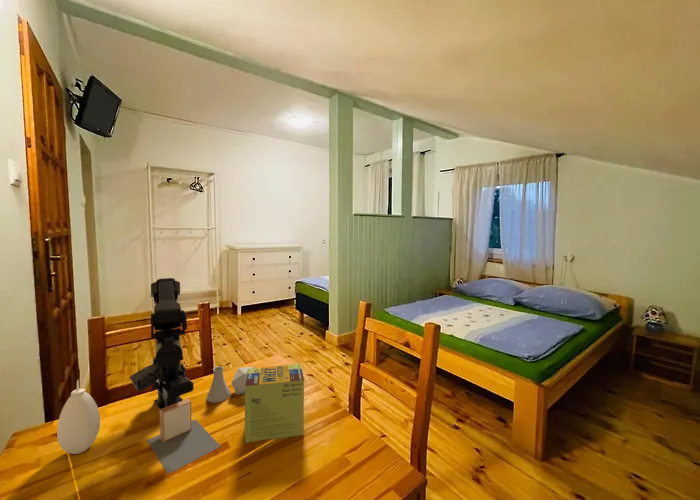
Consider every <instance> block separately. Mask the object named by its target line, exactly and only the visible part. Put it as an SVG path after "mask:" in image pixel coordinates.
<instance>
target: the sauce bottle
mask: <svg viewBox="0 0 700 500" xmlns="http://www.w3.org/2000/svg"><path fill="white" fill-rule="evenodd" d="M56 427H57V428H56V433H57V434H56V437H57V441H58V445H59V447H60V448H61V449H62V450H63V451H64V452H66V454H67V453H68V454H72V455H77V454H81V453H83V452H86V450H88V449H89V448H90V447H91V446H92V445H93V444H94V443H95V441H96V439H97V437H98V435H99V432H100V429H101V428H100V427H101V415H100V410H99V407H98V404H97V403H96V401H95V399H94V398H93V397H92V395H90V394H89V393H88V392H86V389H85V388H80V383H79V379H77V380H76V389H74V390H72V391H71V393H70V396H69V398H67V400H66V402H65V404H64V405H63V407H62V409H61V412H60V414H59V418H58V421H57V426H56Z"/></svg>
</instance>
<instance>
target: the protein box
mask: <svg viewBox="0 0 700 500" xmlns="http://www.w3.org/2000/svg"><path fill="white" fill-rule="evenodd" d="M304 406H305V378H304V373H303V368H302V364H301V363H295V364H285V365H275V366H274V365H273V366H272V365H271V366H263V367H256V368H252V369H248V373H247V379H246V383H245V394H244V443H252V442H257V441H258V442H259V441H264V440H265V441H266V440H270V441H272V440H279V439H286V438H293V437H298V436H304V432H305V429H304V428H305V426H304V421H305V419H304V418H305V417H304V416H305V415H304V413H305V407H304Z"/></svg>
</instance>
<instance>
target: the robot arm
mask: <svg viewBox="0 0 700 500" xmlns="http://www.w3.org/2000/svg"><path fill="white" fill-rule="evenodd" d="M180 295H181V282H180V281H179V280H178V281H177V280H176V278H174V277H167V278H166V277H165V278H158V279H156V281H154V282H151V283H150V298H153V304H154V306H153V312H152V313H150V339H151V340H155V356H154V357H153V359H152V363H151V364H149V365H148V366H146V367H143V368H142V369H140V370H138V371H136V372H134V373H133V374H132V375H131V376H130V377H129V379H130V381H131V383H132V384H133V386H134V388H135V389H136V391H137V392H139V393H140V392H143V391H145V390H147V388H149V387H151V386H152V388H151V389H152V390H155V389H157V399H154V400H153V403H154V404H155V405H156V406H157V407H158V409H159V410H160V409H162V408H165V407H167V406H170V405H173V404H175V403H178V402H181V401H183V400H184V399H183V398H182V397H181V396H183V395H185V394H188V393H191V392H193V391H194V389H195V388H194V382H193V381H192V380H191V379H189V378H188V377H186V372H187V371H186V370H187V369H186V368H187V367H185V365H184V363H182V361H183V360H184V356H183V353H184V352H183V347H182V344H181V336H182V335H185V334H186V331H187V330H188V321H187V313H186V312H185V310H184V309H181V307H182V306H181V303H180V302H178V299H179V296H180ZM154 331H155V332H154Z"/></svg>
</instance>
